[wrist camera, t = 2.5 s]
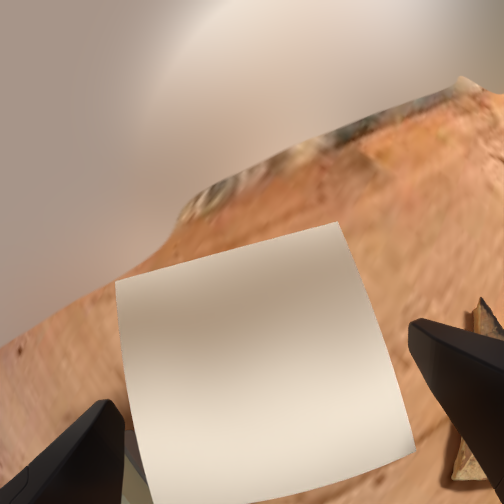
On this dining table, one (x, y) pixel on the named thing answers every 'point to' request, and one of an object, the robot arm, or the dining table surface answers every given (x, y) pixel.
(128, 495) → the tower top slab
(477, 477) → the shard
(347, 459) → the maple column
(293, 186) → the dining table surface
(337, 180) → the dining table surface
